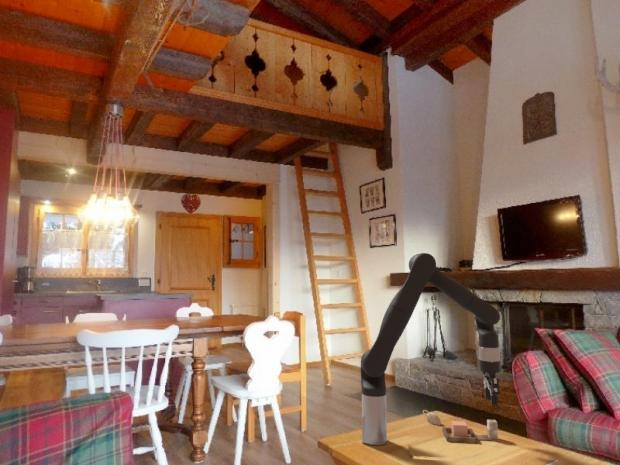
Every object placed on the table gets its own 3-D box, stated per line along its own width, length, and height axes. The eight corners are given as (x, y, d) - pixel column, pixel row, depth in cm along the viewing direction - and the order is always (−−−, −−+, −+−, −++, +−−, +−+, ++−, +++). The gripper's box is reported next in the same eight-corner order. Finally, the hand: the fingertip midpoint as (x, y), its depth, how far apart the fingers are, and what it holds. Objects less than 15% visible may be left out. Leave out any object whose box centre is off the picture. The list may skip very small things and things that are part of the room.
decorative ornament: (436, 429, 177) (436, 415, 177) (421, 423, 184) (421, 410, 185) (443, 427, 179) (443, 414, 179) (428, 421, 186) (428, 408, 187)
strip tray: (447, 443, 160) (446, 423, 161) (442, 433, 171) (441, 414, 172) (501, 446, 157) (500, 426, 158) (493, 436, 168) (492, 416, 169)
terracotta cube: (454, 439, 163) (453, 425, 163) (451, 434, 167) (451, 420, 168) (467, 439, 162) (467, 425, 162) (465, 435, 167) (464, 421, 167)
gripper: (474, 355, 174) (476, 397, 172) (483, 362, 160) (486, 407, 158) (494, 355, 173) (496, 398, 171) (505, 362, 159) (507, 408, 157)
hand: (491, 402), depth 164 cm, fingers open, 8 cm apart
